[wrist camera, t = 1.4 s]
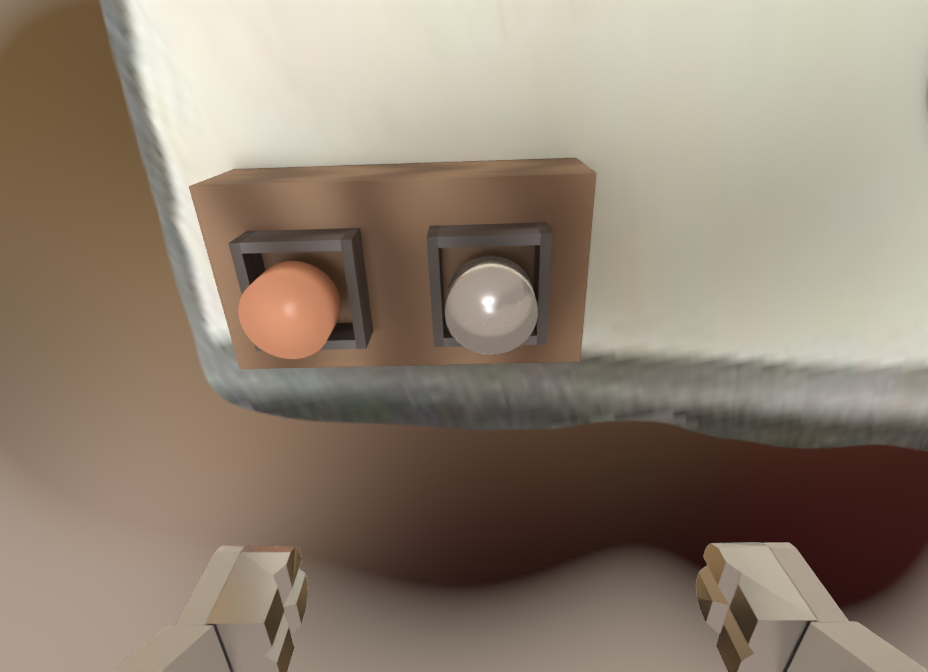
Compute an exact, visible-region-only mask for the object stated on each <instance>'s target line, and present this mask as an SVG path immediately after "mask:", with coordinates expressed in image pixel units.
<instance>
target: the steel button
mask: <svg viewBox="0 0 928 672" xmlns="http://www.w3.org/2000/svg"><path fill="white" fill-rule="evenodd" d="M537 317H538V306H537V301H536V298H535V295H534V291H533V288H532V284H531V281H530V279H529V277H528V275H527V273H526V272H525V271H524V270H523V268H522V267H521V266H519V265H518V264H517V263H516V262H514V261H512V260H510V259H508V258H505V257H502V256H497V255H484V256H479V257H476V258H473V259H471V260H469V261H467V262H466V263H464V264H463V265H462V266H460V267H459V268H458V269H457V271H456V272H455V273H454V275H453V276H452V278H451V280H450V282H449V285H448V290H447V298H446V307H445V319H446V324H447V327H448V329H449V331H450V333H451V335H452V336H453V337H454V339H455V340H456V341H457V342H458V343H459V344H461V345H462V346H463V347H465V348H467V349H468V350H471V351H473V352H476V353H480V354H486V355H494V354H501V353H505V352H508V351H511V350H513V349H515V348H517V347H518V346H520V345H521V344H522V343H523V342H525V341H526V340H527V339H528V337H529V336H530V335H531V333H532V331H533V330H534V327H535V325H536V322H537Z"/></svg>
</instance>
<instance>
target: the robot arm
mask: <svg viewBox="0 0 928 672" xmlns="http://www.w3.org/2000/svg"><path fill="white" fill-rule="evenodd" d="M703 557H704V558H705V561H706V563H707V566H705V567H704V568H703V569H702V570H700V571H699V573H698V577H697V581H696V591H697V599H698V603H699V607H700V610H701V613H702V615H703V617H704V620H705V622H706V623H707V624H708V625H709V626H710V627H711V628H713V629H714V630H715V631H716V632H717V633H718V634H719V637H718V641H717V645H716V646H717V649H718V651H719V653H720V655H721V658H722V660H723V662H724V664H725V666H726V668H727V671H728V672H928V670H926V669H925V668H924V667H922V666H921V665H919V664H918V663H916V662H915V661H913V660H912V659H910V658H909V657H907V656H906V655H905V654H903V653H902V652H900V651H899V650H897V649H896V648H895V647H893V646H892V645H890V644H889V643H887V642H886V641H884V640H883V639H882V638H880V637H879V636H877V635H876V634H874V633H873V632H871V631H870V630H869V629H867V628H866V627H864V626H863V625H861V624H860V623H858V622H849V621H848V619H847V618H846V617H845V615H844V614H843V613H842V611H841V610H840V608H839V607H838V606H837V604H836V603H835V601H834V600H833V599H832V597H831V596H830V595H829V593H828V592H827V590H826V589H825V588H824V586H823V585H822V583H821V582H820V581H819V579H818V578H817V577H816V575H815V574H814V572H813V571H812V570H811V569H810V567H809V565H808V564H807V563H806V561H805V560H804V559H803V557H802V556H801V554H800V553H799V552H798V550H797V549H796V548H795V547H794V546H792V545H791V544H790V543H759V542H752V543H711V544H709V545H708V546H707V547H706V550H705V553H704V556H703ZM301 561H302V557H301V553H300V549H299V547H273V546H271V547H270V546H269V547H268V546H221V547H220V548H219V549H218V550H217V551H216V552H215V553H214V554H213V556H212V557H211V559H210V561H209V563H208V565H207V567H206V569H205V571H204V572H203V574H202V576H201V578H200V580H199V582H198V583H197V585H196V587H195V589H194V591H193V593H192V595H191V597H190V598H189V600H188V602H187V604H186V606H185V608H184V610H183V611H182V613H181V615H180V617H179V619H178V621H177V623H176V624H175V625H167V626H166V627H164V628H163V629H162V630H161V631H160V632H159V633H157V634H156V635H155V636H153V637H152V638H151V639H150V640H149V641H147V642H146V643H145V644H144V645H142V646H141V647H140V648H139V649H137V650H136V651H135V652H134V653H133V654H131V655H130V656H129V657H128V658H126V659H125V660H124V661H123V662H121V663H120V664H119V665H118V666H116V667H115V668H114V669H113V670H112V671H110V672H287V670H288V667H289V664H290V661H291V657H292V654H293V651H294V645H293V641H292V637H291V635H292V634H293V633H294V632H295V631H296V630H297V629H298V628H299V627H300V626H301V624H302V621H303V617H304V614H305V610H306V603H307V596H308V584H307V578H306V574H305V573H304V572H302V571H301V570H300V569H299V567H300V564H301Z"/></svg>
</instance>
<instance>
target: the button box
mask: <svg viewBox="0 0 928 672" xmlns="http://www.w3.org/2000/svg"><path fill="white" fill-rule="evenodd" d="M595 181H596V173H595V172H594V171H593V170H591V169H590V168H589V167H587V166H586V165H585V164H583V163H582V162H581V161H579V160H578V159H577V158H557V159H527V160H497V161H467V162H437V163H407V164H377V165H347V166H317V167H287V168H257V169H233V170H231V171H228V172H226V173H223V174H220V175H218V176H215V177H212V178H210V179H207V180H204V181H202V182H199V183H197V184H194V185H191V186H189V189H190V192H191V196H192V200H193V203H194V207H195V210H196V214H197V217H198V221H199V225H200V228H201V232H202V235H203V239H204V242H205V246H206V249H207V253H208V257H209V260H210V264H211V267H212V271H213V274H214V278H215V282H216V285H217V289H218V292H219V296H220V299H221V303H222V307H223V310H224V314H225V317H226V321H227V324H228V328H229V331H230V335H231V339H232V342H233V346H234V349H235V353H236V356H237V360H238V364H239V367H240V369H265V368H310V367H355V366H401V365H446V364H492V363H537V362H580V357H581V345H582V334H583V322H584V310H585V299H586V287H587V275H588V263H589V252H590V240H591V228H592V216H593V205H594V193H595ZM484 255H497V256H502V257H505V258H508V259H510V260H512V261H514V262H516V263H517V264H518V265H519V266H521V267H522V268H523V270H524V271H525V272H526V273H527V275H528V277H529V279H530V281H531V284H532V288H533V291H534V295H535V298H536V301H537V306H538V317H537V322H536V325H535V327H534V330H533V331H532V333H531V335H530V336H529V337H528V339H527V340H526V341H525V342H523V343H522V344H521V345H520V346H518V347H517V348H515V349H513V350H511V351H508V352H505V353H501V354H494V355H486V354H480V353H476V352H473V351H471V350H468V349H467V348H465V347H463V346H462V345H461V344H459V343H458V342H457V341H456V340H455V339H454V337H453V336H452V335H451V333H450V331H449V329H448V327H447V324H446V319H445V307H446V298H447V290H448V285H449V282H450V280H451V278H452V276H453V275H454V273H455V272H456V271H457V269H458V268H459V267H460V266H462V265H463V264H464V263H466V262H467V261H469V260H471V259H473V258H476V257H479V256H484ZM283 261H301V262H305V263H308V264H311V265H313V266H315V267H317V268H319V269H320V270H322V271H323V272H324V273H325V274H327V275H328V276H329V277H330V279H331V280H332V281H333V282H334V284H335V285H336V287H337V289H338V291H339V294H340V298H341V314H340V317H339V320H338V321H337V323H336V325H335V327H334V329H333V330H332V332H331V334H330V336H329V338H328V339H327V341H326V343H325V344H324V346H323V347H322V348H321V349H320V350H319V351H317V352H316V353H314V354H312V355H310V356H308V357H305V358H300V359H285V358H280V357H276V356H273V355H271V354H269V353H267V352H265V351H263V350H261V349H260V348H259V347H257V346H256V345H255V344H254V343H253V342H252V341H251V340H250V339H249V338H248V337H247V335H246V334H245V332H244V330H243V328H242V326H241V323H240V320H239V315H238V307H239V302H240V298H241V296H242V294H243V293H244V291H245V290H246V289H247V288H248V286H250V285H251V284H252V283H253V282H254V281H255V280H256V279H257V278H258V277H259V276H260V275H261V274H262V273H263V272H265V271H266V270H267V269H268V268H269V267H271V266H273V265H274V264H277V263H279V262H283Z"/></svg>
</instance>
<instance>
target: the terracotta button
mask: <svg viewBox="0 0 928 672" xmlns="http://www.w3.org/2000/svg"><path fill="white" fill-rule="evenodd" d="M340 314H341V298H340V294H339V291H338V289H337V287H336V285H335V284H334V282H333V281H332V280H331V279H330V277H329V276H328V275H327V274H325V273H324V272H323V271H322V270H320V269H319V268H317V267H315V266H313V265H311V264H308V263H305V262H301V261H283V262H279V263H277V264H274V265H273V266H271V267H269V268H268V269H267V270H266V271H265V272H263V273H262V274H261V275H260V276H259V277H258V278H257V279H256V280H255V281H254V282H253V283H252V284H251V285H250V286H248V288H247V289H246V290H245V291H244V293H243V294H242V296H241V298H240V302H239V307H238V315H239V320H240V323H241V326H242V328H243V330H244V332H245V334H246V335H247V337H248V338H249V339H250V340H251V341H252V342H253V343H254V344H255V345H256V346H257V347H259V348H260V349H261V350H263V351H265V352H267V353H269V354H271V355H273V356H276V357H280V358H285V359H300V358H305V357H308V356H310V355H312V354H314V353H316V352H317V351H319V350H320V349H321V348H322V347H323V346H324V344H325V343H326V341H327V339H328V338H329V336H330V334H331V332H332V330H333V329H334V327H335V325H336V323H337V321H338V320H339V317H340Z"/></svg>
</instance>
